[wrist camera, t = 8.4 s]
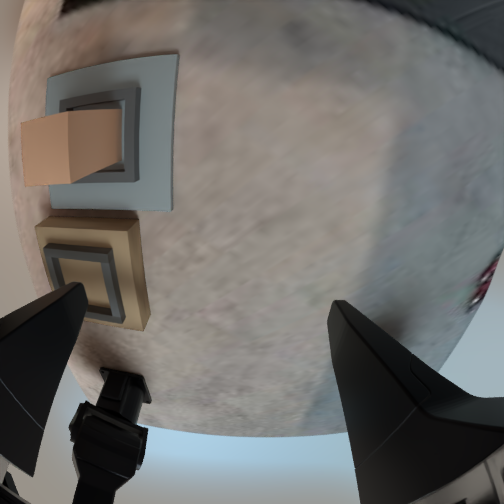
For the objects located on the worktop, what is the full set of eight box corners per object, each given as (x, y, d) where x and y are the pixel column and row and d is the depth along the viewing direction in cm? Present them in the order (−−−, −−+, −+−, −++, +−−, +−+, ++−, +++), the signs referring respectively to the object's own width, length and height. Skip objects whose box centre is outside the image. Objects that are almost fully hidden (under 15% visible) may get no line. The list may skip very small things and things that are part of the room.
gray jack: (173, 209, 21) (167, 216, 20) (55, 206, 21) (45, 212, 19) (179, 55, 16) (173, 51, 14) (51, 78, 15) (40, 77, 14)
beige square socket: (150, 314, 26) (140, 338, 23) (70, 301, 26) (56, 321, 22) (138, 219, 21) (121, 237, 18) (49, 216, 21) (28, 231, 18)
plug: (122, 160, 19) (70, 183, 12) (80, 162, 18) (25, 186, 12) (122, 108, 17) (68, 111, 10) (79, 115, 17) (20, 123, 10)
